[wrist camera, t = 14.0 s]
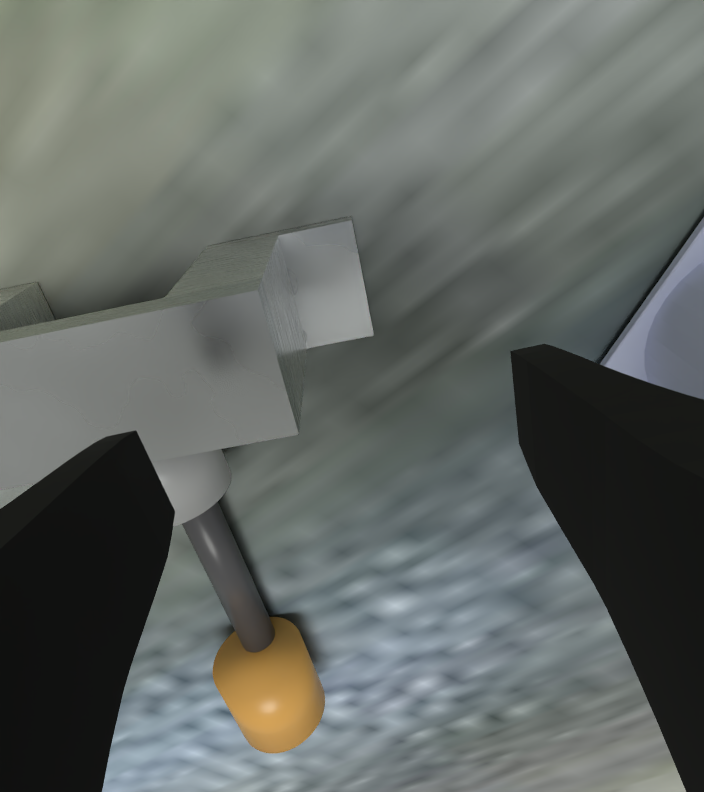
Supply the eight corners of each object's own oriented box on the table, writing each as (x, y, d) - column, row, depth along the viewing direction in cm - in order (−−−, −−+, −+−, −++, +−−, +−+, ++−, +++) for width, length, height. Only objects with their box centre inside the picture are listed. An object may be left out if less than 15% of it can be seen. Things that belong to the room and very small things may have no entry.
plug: (105, 413, 21) (68, 477, 18) (212, 385, 21) (197, 444, 18) (244, 679, 29) (238, 763, 25) (322, 659, 29) (327, 740, 25)
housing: (-97, 310, 19) (-274, 398, 14) (351, 216, 18) (359, 269, 13) (-37, 408, 21) (-170, 521, 16) (372, 327, 20) (388, 417, 15)
